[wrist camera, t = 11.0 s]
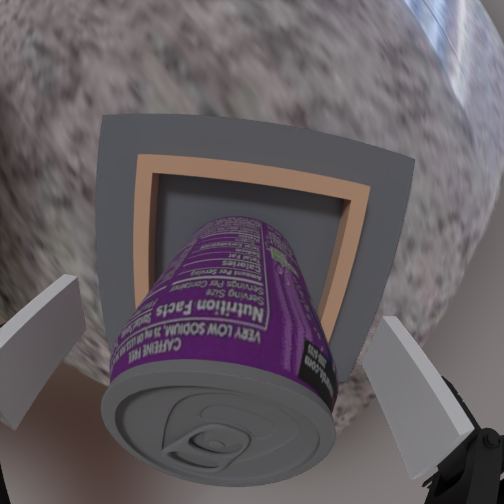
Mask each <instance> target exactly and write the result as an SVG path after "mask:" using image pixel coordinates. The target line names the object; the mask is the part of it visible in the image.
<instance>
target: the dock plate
mask: <svg viewBox="0 0 504 504" xmlns="http://www.w3.org/2000/svg"><path fill="white" fill-rule="evenodd" d="M414 164H415V159H413V158H410V157H407V156H404V155H401V154H398V153H395V152H392V151H389V150H386V149H382V148H379V147H376V146H372V145H369V144H365V143H362V142H358V141H355V140H351V139H347V138H343V137H339V136H335V135H330V134H326V133H322V132H317V131H312V130H307V129H302V128H297V127H292V126H286V125H280V124H274V123H267V122H260V121H253V120H245V119H236V118H227V117H216V116H202V115H183V114H122V115H104V116H103V118H102V125H101V133H100V141H99V151H98V162H97V178H96V250H97V265H98V277H99V287H100V296H101V304H102V311H103V318H104V324H105V330H106V336H107V341H108V346H109V351H111V352H112V348H113V346H114V343H115V341H116V339H117V337H118V336H119V334H120V332H121V331H122V329H123V328H124V326H125V325H126V323H127V322H128V321H129V319H130V318H131V316H132V315H133V313H134V312H135V311H136V309H137V308H138V306H139V305H140V303H141V302H142V301H143V299H144V298H145V296H146V295H147V294H148V292H149V291H150V290H151V288H152V287H153V285H154V284H155V283H156V281H157V280H158V279H159V277H160V276H161V275H162V273H163V272H164V271H165V269H166V268H167V267H168V265H169V264H170V263H171V261H172V260H173V259H174V257H175V256H176V255H177V253H178V252H179V251H180V250H181V248H182V247H183V246H184V244H185V243H186V242H187V241H188V239H189V238H190V237H191V236H192V235H193V233H194V232H196V231H197V230H198V229H199V228H200V227H202V226H203V225H205V224H207V223H209V222H211V221H213V220H216V219H219V218H223V217H229V216H244V217H250V218H254V219H257V220H260V221H262V222H265V223H267V224H268V225H270V226H272V227H273V228H275V229H276V230H277V231H278V232H279V233H281V234H282V236H283V237H284V238H285V239H286V240H287V242H288V243H289V245H290V246H291V248H292V250H293V252H294V255H295V257H296V260H297V262H298V265H299V267H300V270H301V272H302V275H303V277H304V280H305V283H306V285H307V288H308V290H309V293H310V296H311V298H312V301H313V303H314V306H315V309H316V311H317V314H318V317H319V320H320V322H321V325H322V328H323V330H324V333H325V336H326V339H327V341H328V344H329V347H330V350H331V353H332V355H333V358H334V361H335V365H336V368H337V373H338V382H346V381H347V379H348V377H349V375H350V373H351V370H352V368H353V366H354V364H355V362H356V360H357V357H358V355H359V353H360V351H361V348H362V346H363V344H364V341H365V339H366V336H367V334H368V331H369V329H370V326H371V324H372V321H373V319H374V316H375V313H376V311H377V308H378V305H379V302H380V300H381V297H382V294H383V291H384V288H385V285H386V282H387V279H388V276H389V272H390V269H391V266H392V262H393V259H394V256H395V252H396V248H397V245H398V241H399V237H400V233H401V229H402V225H403V221H404V217H405V212H406V208H407V203H408V198H409V193H410V188H411V182H412V176H413V170H414Z"/></svg>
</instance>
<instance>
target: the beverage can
mask: <svg viewBox="0 0 504 504" xmlns="http://www.w3.org/2000/svg"><path fill="white" fill-rule="evenodd" d="M338 385H339V382H338V373H337V368H336V365H335V361H334V358H333V355H332V353H331V350H330V347H329V344H328V341H327V339H326V336H325V333H324V330H323V328H322V325H321V322H320V320H319V317H318V314H317V311H316V309H315V306H314V303H313V301H312V298H311V296H310V293H309V290H308V288H307V285H306V283H305V280H304V277H303V275H302V272H301V270H300V267H299V265H298V262H297V260H296V257H295V255H294V252H293V250H292V248H291V246H290V245H289V243H288V242H287V240H286V239H285V238H284V237H283V236H282V234H281V233H279V232H278V231H277V230H276V229H275V228H273V227H272V226H270V225H268V224H267V223H265V222H262V221H260V220H257V219H254V218H250V217H244V216H229V217H223V218H219V219H216V220H213V221H211V222H209V223H207V224H205V225H203V226H202V227H200V228H199V229H198V230H197V231H196V232H194V233H193V235H192V236H191V237H190V238H189V239H188V241H187V242H186V243H185V244H184V246H183V247H182V248H181V250H180V251H179V252H178V253H177V255H176V256H175V257H174V259H173V260H172V261H171V263H170V264H169V265H168V267H167V268H166V269H165V271H164V272H163V273H162V275H161V276H160V277H159V279H158V280H157V281H156V283H155V284H154V285H153V287H152V288H151V290H150V291H149V292H148V294H147V295H146V296H145V298H144V299H143V301H142V302H141V303H140V305H139V306H138V308H137V309H136V311H135V312H134V313H133V315H132V316H131V318H130V319H129V321H128V322H127V323H126V325H125V326H124V328H123V329H122V331H121V332H120V334H119V336H118V337H117V339H116V341H115V343H114V346H113V348H112V352H111V357H110V385H109V387H108V389H107V390H106V392H105V394H104V396H103V398H102V402H101V415H102V418H103V421H104V424H105V425H106V428H107V429H108V431H109V432H110V434H111V435H112V436H113V438H114V439H115V440H116V441H117V442H118V443H119V444H120V445H121V446H122V447H123V448H124V449H125V450H126V451H128V452H129V453H130V454H132V455H133V456H134V457H136V458H137V459H139V460H140V461H142V462H143V463H145V464H147V465H149V466H151V467H153V468H155V469H157V470H159V471H162V472H164V473H166V474H169V475H171V476H174V477H177V478H180V479H184V480H187V481H192V482H196V483H201V484H206V485H214V486H226V487H245V486H257V485H265V484H270V483H275V482H279V481H282V480H286V479H289V478H292V477H294V476H297V475H299V474H301V473H303V472H305V471H307V470H309V469H310V468H312V467H314V466H315V465H317V463H319V462H320V461H322V460H323V459H324V458H325V457H326V456H327V454H328V453H329V452H330V450H331V448H332V447H333V445H334V442H335V438H336V429H335V424H334V420H333V417H332V412H333V408H334V405H335V402H336V399H337V394H338Z"/></svg>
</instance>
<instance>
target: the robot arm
mask: <svg viewBox="0 0 504 504" xmlns="http://www.w3.org/2000/svg"><path fill="white" fill-rule="evenodd" d="M86 329H87V328H86V324H85V319H84V314H83V308H82V303H81V297H80V290H79V283H78V277H76V276H72V275H67V274H64V275H63V276H61V277H60V278H59V279H58V280H56V281H55V282H54V283H52V284H51V285H50V286H49V287H47V288H46V289H45V290H44V291H43V292H41V293H40V294H39V295H38V296H36V297H35V298H34V299H33V300H32V301H31V302H29V303H28V304H27V305H26V306H25V307H24V308H22V309H21V310H20V311H19V312H18V313H17V314H16V315H14V316H13V317H12V318H11V319H10V320H9V321H8V322H6V323H4V324H2V325H0V420H1V421H2V422H3V423H5V424H6V425H8V426H9V427H10V428H12V429H13V430H16V428H17V427H18V425H19V423H20V422H21V420H22V418H23V417H24V415H25V414H26V412H27V411H28V409H29V408H30V406H31V404H32V403H33V401H34V400H35V398H36V397H37V395H38V394H39V392H40V391H41V390H42V388H43V387H44V385H45V384H46V382H47V380H48V379H49V378H50V377H51V375H52V374H53V372H54V371H55V370H56V368H57V367H58V366H59V364H60V363H61V362H62V360H63V359H64V358H65V356H66V355H67V354H68V352H69V351H70V350H71V348H72V347H73V346H74V344H75V343H76V342H77V341H78V339H79V338H80V337H81V335H82V334H83V333H84V332H85V330H86ZM362 366H363V368H364V370H365V373H366V375H367V377H368V379H369V381H370V383H371V386H372V388H373V390H374V392H375V395H376V397H377V399H378V401H379V403H380V406H381V408H382V410H383V413H384V415H385V417H386V420H387V422H388V424H389V427H390V429H391V432H392V434H393V436H394V439H395V441H396V444H397V446H398V449H399V451H400V454H401V456H402V459H403V461H404V464H405V467H406V469H407V471H408V474H409V477H410V480H412V479H415V478H418V477H421V476H423V475H426V474H428V473H429V472H430V471H431V470H432V469H434V468H435V467H436V466H437V467H438V470H439V471H438V472H436V473H435V474H434V475H433V476H432V477H430V478H429V479H428V480H426V481H425V482H424V483H423V485H422V487H425V486H426V485H427V484H428V483H430V482H431V481H432V483H431V484H430V485H429V486H428V487H427V488H429V492H428V495H427V498H426V500H425V503H424V504H504V479H502V480H501V481H500V475H501V474H502V473H503V472H504V435H501V436H500V435H499V434H498V433H497V432H496V431H495V430H493V429H491V428H484V429H481V428H480V426H479V425H478V423H477V422H476V420H475V418H474V417H473V415H472V414H471V412H470V411H469V409H468V408H467V406H466V405H465V403H464V402H462V398H461V397H460V396H459V395H458V392H457V391H456V390H455V388H454V387H453V385H452V384H451V383H450V382H449V381H448V380H446V379H445V378H444V377H443V376H440V375H439V373H438V372H437V370H436V369H435V368H434V366H433V365H432V363H431V362H430V361H429V359H428V358H427V356H426V355H425V354H424V352H423V351H422V350H421V348H420V347H419V346H418V344H417V343H416V342H415V340H414V339H413V338H412V336H411V335H410V334H409V332H408V331H407V330H406V329H405V327H404V326H403V325H402V323H401V322H400V321H399V320H398V318H397V317H392V316H382V318H381V321H380V323H379V326H378V328H377V331H376V333H375V335H374V338H373V340H372V342H371V344H370V347H369V349H368V351H367V353H366V356H365V358H364V360H363V362H362ZM0 504H11V503H10V500H9V496H8V493H7V489H6V486H5V482H4V478H3V474H2V469H1V464H0Z"/></svg>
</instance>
